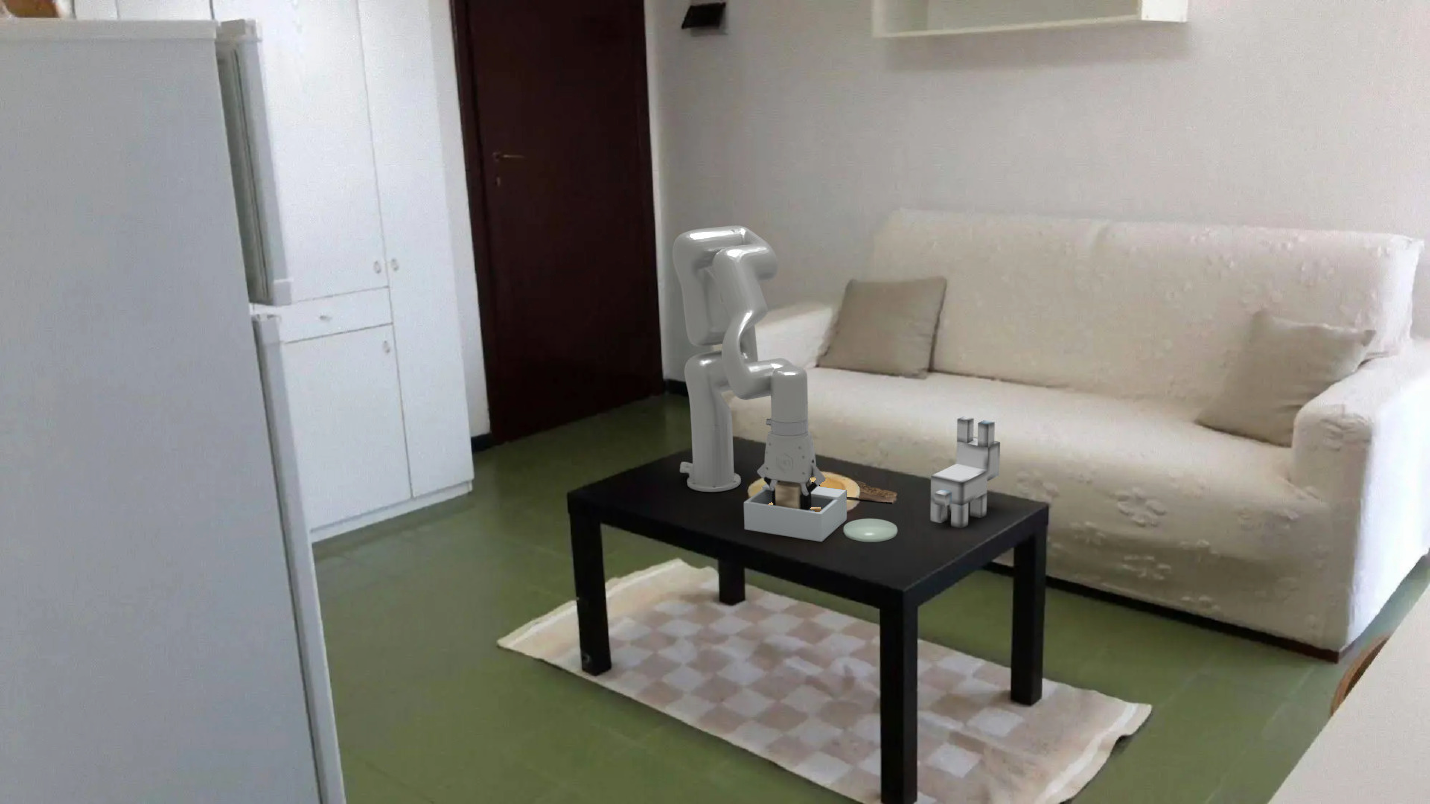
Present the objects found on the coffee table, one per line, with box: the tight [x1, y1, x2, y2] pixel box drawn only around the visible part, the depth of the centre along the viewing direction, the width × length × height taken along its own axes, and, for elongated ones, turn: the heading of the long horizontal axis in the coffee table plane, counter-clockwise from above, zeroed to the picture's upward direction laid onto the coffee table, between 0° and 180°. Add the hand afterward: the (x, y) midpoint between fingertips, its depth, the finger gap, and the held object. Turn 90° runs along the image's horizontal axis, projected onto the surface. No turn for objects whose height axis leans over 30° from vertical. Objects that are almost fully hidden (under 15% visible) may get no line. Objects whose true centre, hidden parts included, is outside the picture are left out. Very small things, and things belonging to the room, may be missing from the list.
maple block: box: [775, 481, 803, 509], centre depth 241 cm, size 5×5×7 cm
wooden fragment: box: [854, 480, 898, 504], centre depth 263 cm, size 26×11×1 cm, turn 42°
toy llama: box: [930, 416, 1001, 529], centre depth 242 cm, size 8×18×20 cm, turn 137°
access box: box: [743, 483, 848, 543], centre depth 243 cm, size 18×14×7 cm
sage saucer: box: [843, 518, 898, 543], centre depth 238 cm, size 11×11×1 cm
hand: (791, 508), depth 241 cm, fingers open, 5 cm apart
